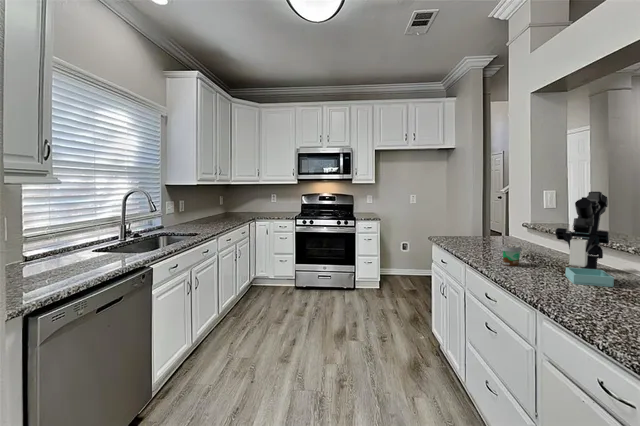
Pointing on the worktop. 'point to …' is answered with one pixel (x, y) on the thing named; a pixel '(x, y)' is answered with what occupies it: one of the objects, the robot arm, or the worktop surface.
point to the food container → (511, 255)
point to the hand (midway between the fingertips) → (578, 250)
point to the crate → (589, 277)
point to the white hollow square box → (578, 252)
